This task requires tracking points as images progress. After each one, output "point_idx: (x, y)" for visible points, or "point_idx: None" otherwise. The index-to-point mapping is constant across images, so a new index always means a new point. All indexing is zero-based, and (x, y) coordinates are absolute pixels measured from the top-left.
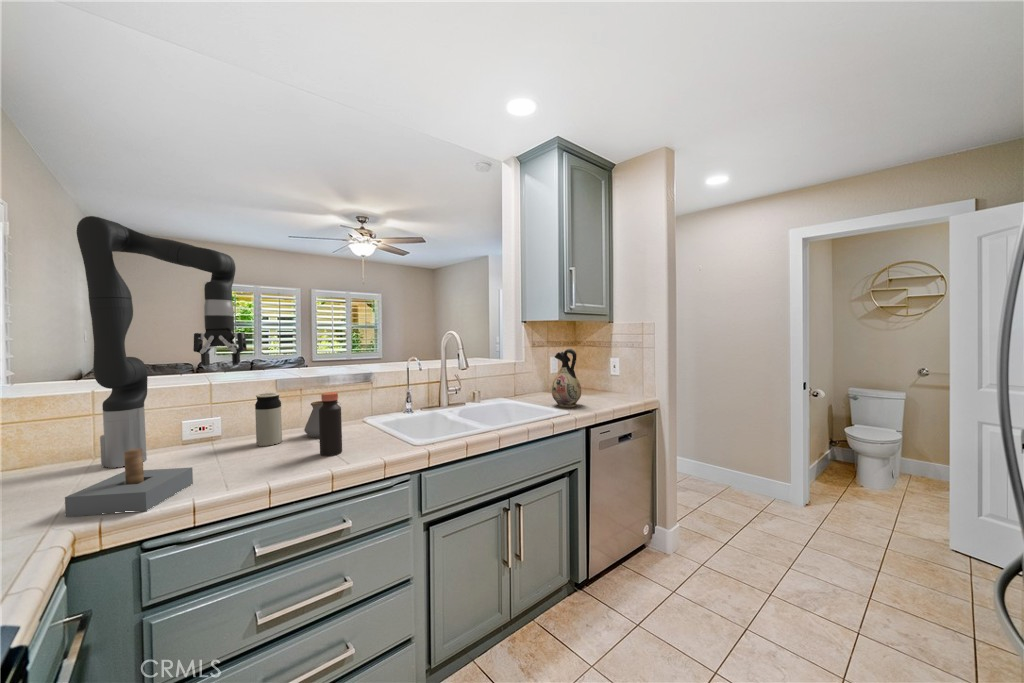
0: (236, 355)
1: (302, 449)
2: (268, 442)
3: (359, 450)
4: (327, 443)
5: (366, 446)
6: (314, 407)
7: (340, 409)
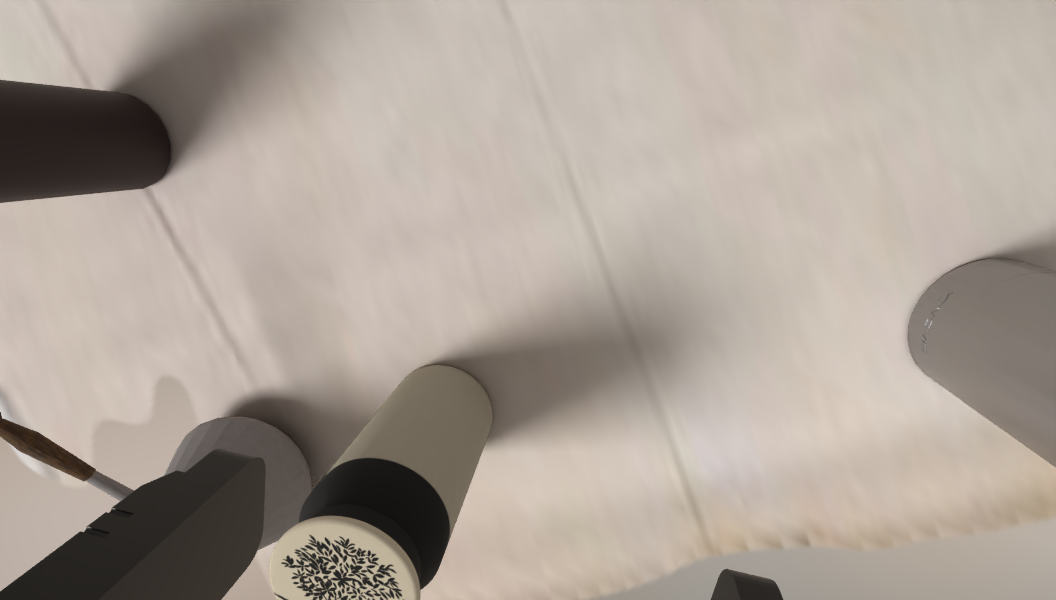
0: (30, 591)
1: (272, 253)
2: (428, 370)
3: None
4: (74, 88)
5: None
6: None
7: None
